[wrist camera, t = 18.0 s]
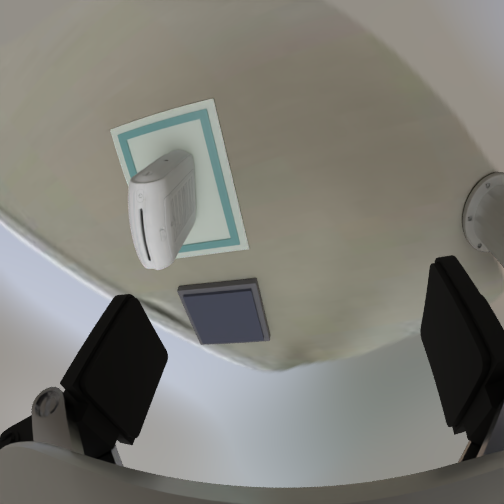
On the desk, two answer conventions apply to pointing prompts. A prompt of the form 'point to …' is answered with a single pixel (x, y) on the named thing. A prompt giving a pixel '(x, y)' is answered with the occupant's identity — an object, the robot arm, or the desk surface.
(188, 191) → the photo printer
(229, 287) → the ink pad
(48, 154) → the desk surface
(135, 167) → the teal bordered white mat
